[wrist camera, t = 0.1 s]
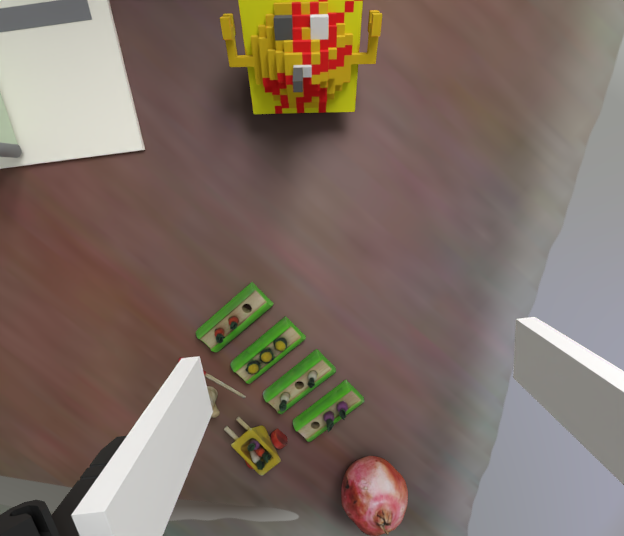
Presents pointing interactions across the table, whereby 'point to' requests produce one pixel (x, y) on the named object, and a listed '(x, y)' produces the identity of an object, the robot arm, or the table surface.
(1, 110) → the fence panel
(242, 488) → the table surface
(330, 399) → the toy garden set
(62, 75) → the card
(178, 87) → the table surface
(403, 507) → the fruit
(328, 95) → the toy
